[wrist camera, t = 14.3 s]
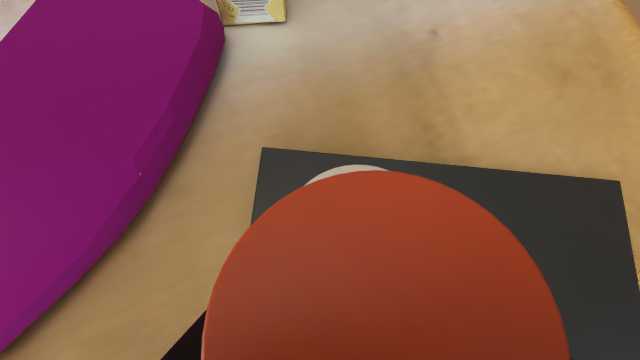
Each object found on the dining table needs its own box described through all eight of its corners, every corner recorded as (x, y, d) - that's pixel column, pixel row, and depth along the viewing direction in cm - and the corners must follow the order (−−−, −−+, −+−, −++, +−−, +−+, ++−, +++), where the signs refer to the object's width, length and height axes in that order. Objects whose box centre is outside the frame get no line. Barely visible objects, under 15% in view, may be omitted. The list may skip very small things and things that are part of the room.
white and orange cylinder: (399, 354, 15) (652, 376, 4) (318, 425, 14) (363, 713, 3) (337, 272, 16) (402, 114, 5) (258, 333, 15) (130, 299, 4)
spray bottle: (245, 42, 24) (1, 511, 16) (83, -12, 25) (-221, 408, 17) (237, 5, 21) (-63, 553, 13) (55, -54, 22) (-325, 427, 14)
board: (612, 184, 21) (621, 180, 21) (692, 654, 15) (710, 669, 14) (263, 151, 21) (262, 146, 21) (195, 608, 15) (190, 621, 14)
